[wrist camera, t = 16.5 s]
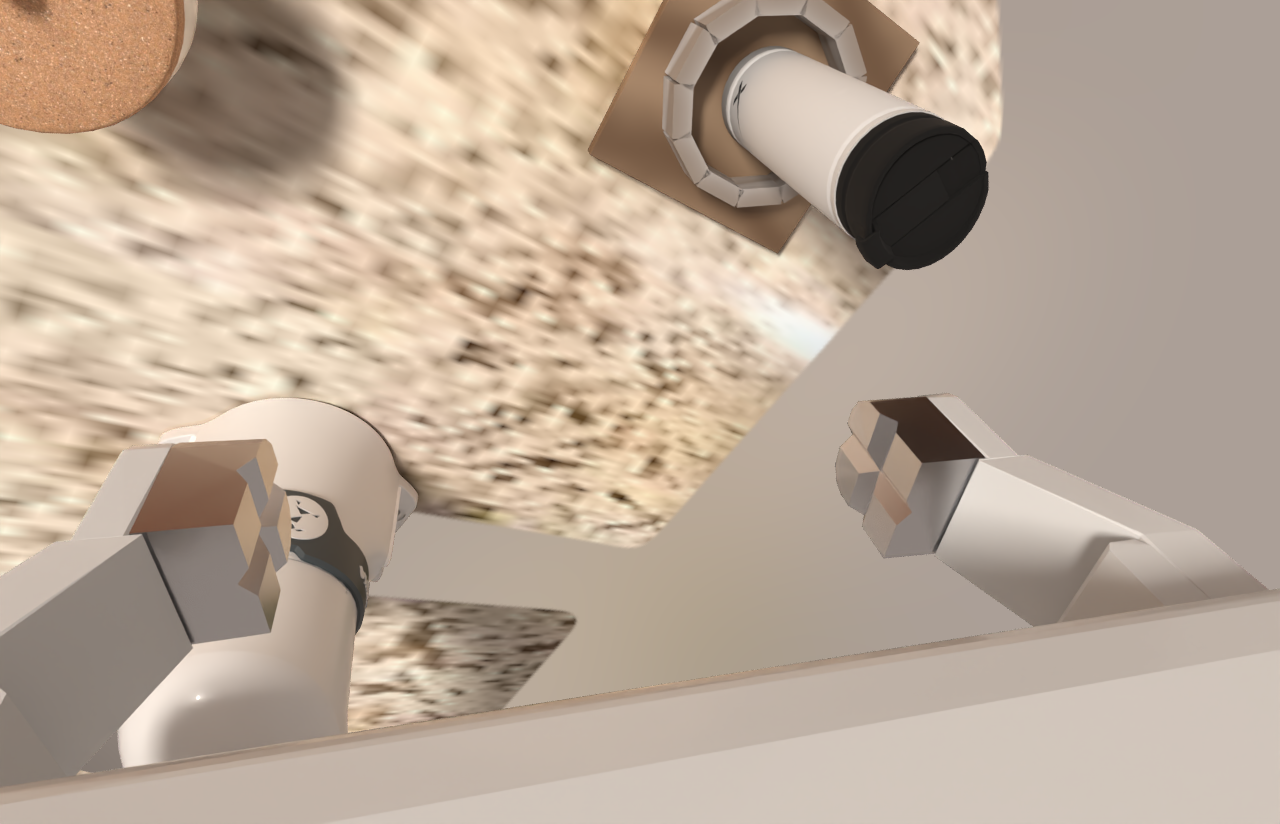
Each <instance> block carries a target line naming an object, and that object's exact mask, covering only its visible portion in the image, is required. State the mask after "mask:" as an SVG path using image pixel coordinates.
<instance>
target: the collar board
mask: <svg viewBox="0 0 1280 824" xmlns="http://www.w3.org/2000/svg"><path fill="white" fill-rule="evenodd" d="M918 45H919V42H918V41H917V40H916V39H914V38H913V37H912V36H911V35H910V34H908V33H907V32H906V31H905V30H903V29H902V28H901V27H900V26H898V25H897V24H896V23H895V22H893V21H892V20H891V19H890V18H888V17H887V16H886V15H885V14H883V13H882V12H881V11H880V10H879V9H877V8H876V7H875V6H874V5H872V4H871V3H870V2H869V1H867V0H663V2H662V4H661V6H660V8H659V10H658V12H657V14H656V16H655V18H654V20H653V22H652V24H651V26H650V28H649V30H648V32H647V34H646V36H645V38H644V40H643V42H642V44H641V46H640V47H639V49H638V51H637V53H636V55H635V57H634V59H633V61H632V63H631V65H630V67H629V69H628V71H627V73H626V75H625V77H624V79H623V81H622V83H621V85H620V87H619V89H618V91H617V93H616V95H615V97H614V99H613V101H612V103H611V105H610V107H609V109H608V111H607V113H606V115H605V117H604V119H603V121H602V123H601V125H600V127H599V129H598V131H597V133H596V135H595V137H594V139H593V141H592V143H591V145H590V146H589V148H588V152H589V153H590V155H592V156H594V157H596V158H597V159H599V160H601V161H603V162H605V163H607V164H609V165H611V166H613V167H615V168H616V169H618V170H620V171H622V172H624V173H626V174H628V175H630V176H632V177H634V178H635V179H637V180H639V181H641V182H643V183H645V184H647V185H649V186H651V187H652V188H654V189H656V190H658V191H660V192H662V193H664V194H666V195H668V196H670V197H671V198H673V199H675V200H677V201H679V202H681V203H683V204H685V205H687V206H689V207H690V208H692V209H694V210H696V211H698V212H700V213H702V214H704V215H706V216H707V217H709V218H711V219H713V220H715V221H717V222H719V223H721V224H723V225H725V226H726V227H728V228H730V229H732V230H734V231H736V232H738V233H740V234H742V235H744V236H745V237H747V238H749V239H751V240H753V241H755V242H757V243H759V244H761V245H762V246H764V247H766V248H768V249H770V250H772V251H774V252H776V253H778V252H779V251H780V249H781V248H782V247H783V245H784V244H785V242H786V241H787V239H788V238H789V236H790V235H791V233H792V232H793V230H794V229H795V227H796V226H797V224H798V223H799V221H800V220H801V218H802V217H803V215H804V214H805V212H806V211H807V209H808V208H809V206H810V205H811V203H810V202H808V201H807V200H806V199H805V198H804V197H802V196H801V195H800V194H799V193H798V192H796V191H795V190H794V189H793V188H792V187H790V186H789V185H788V184H787V183H786V182H784V181H783V180H782V179H781V178H780V177H779V176H777V175H776V174H775V173H774V172H773V171H771V170H770V169H769V168H768V167H767V166H765V165H764V164H763V163H762V162H761V161H759V160H758V159H757V158H756V157H755V156H753V155H752V154H751V153H750V152H749V151H748V150H746V149H745V148H744V147H743V146H742V145H740V144H739V143H738V142H737V141H736V140H734V138H733V137H732V136H731V135H730V134H729V132H728V130H727V128H726V126H725V124H724V120H723V117H722V107H721V104H722V95H723V91H724V87H725V84H726V82H727V80H728V78H729V76H730V74H731V72H732V71H733V70H734V68H735V67H736V65H737V64H738V63H739V62H740V61H741V60H742V59H743V58H745V57H746V56H747V55H749V54H750V53H752V52H754V51H756V50H758V49H760V48H764V47H768V46H781V47H785V48H789V49H791V50H793V51H796V52H797V53H800V54H802V55H805V56H807V57H809V58H811V59H813V60H816V61H818V62H820V63H822V64H825V65H827V66H829V67H831V68H834V69H836V70H838V71H840V72H842V73H845V74H847V75H849V76H851V77H854V78H856V79H858V80H860V81H863V82H865V83H867V84H869V85H871V86H874V87H876V88H878V89H880V90H883V91H885V92H887V91H888V89H889V88H890V86H891V85H892V83H893V82H894V80H895V79H896V77H897V76H898V74H899V73H900V71H901V70H902V68H903V67H904V65H905V64H906V62H907V61H908V59H909V58H910V56H911V55H912V53H913V52H914V50H915V49H916V48H917V46H918Z"/></svg>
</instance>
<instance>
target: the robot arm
mask: <svg viewBox="0 0 1280 824" xmlns="http://www.w3.org/2000/svg"><path fill="white" fill-rule="evenodd" d="M847 424H848V426H849V428H850V430H851V432H852V435H851V436H850V437H849V438H848V439H847V440H846V441H845V443H843V444H842V445H841V446H840V448H839V452H838V456H837V460H836V463H835V467H836V481H837V484H838V487H839V490H840V493H841V495H842V497H843V498H844V499H845V501H846V503H847V504H848V506H850V507H852V508H853V509H855V510H857V511H859V512H860V513H862V514H864V519H863V524H862V527H863V528H864V530H865V531H866V533H867V534H868V536H869V537H870V539H871V540H872V542H873V543H874V545H875V546H876V548H877V549H878V551H879V552H880V554H881V555H882V557H883V558H891V557H902V556H912V555H923V554H934V553H935V557H937V558H938V559H939V560H941V561H942V562H943V563H945V564H946V565H948V566H949V567H950V568H952V569H953V570H955V571H956V572H957V573H959V574H960V575H962V576H963V577H965V578H966V579H967V580H969V581H970V582H971V583H973V584H974V585H976V586H977V587H979V588H980V589H981V590H983V591H984V592H986V593H987V594H988V595H990V596H991V597H993V598H994V599H995V600H997V601H998V602H1000V603H1001V604H1002V605H1004V606H1005V607H1007V608H1008V609H1009V610H1011V611H1012V612H1014V613H1015V614H1017V615H1018V616H1019V617H1021V618H1022V619H1024V620H1025V621H1026V622H1028V623H1029V624H1030V625H1032V626H1033V627H1028V628H1022V629H1015V630H1010V631H1002V632H997V633H989V634H983V635H977V636H971V637H964V638H957V639H951V640H945V641H939V642H931V643H925V644H918V645H913V646H906V647H900V648H893V649H886V650H880V651H873V652H867V653H861V654H854V655H848V656H841V657H835V658H828V659H822V660H815V661H809V662H802V663H797V664H790V665H783V666H777V667H771V668H764V669H757V670H751V671H745V672H738V673H731V674H725V675H719V676H713V677H706V678H699V679H694V680H687V681H680V682H674V683H667V684H661V685H655V686H648V687H642V688H635V689H628V690H622V691H616V692H609V693H603V694H596V695H590V696H583V697H577V698H571V699H565V700H558V701H551V702H545V703H538V704H532V705H525V706H519V707H512V708H506V709H500V710H493V711H487V712H480V713H474V714H467V715H461V716H455V717H448V718H442V719H435V720H429V721H422V722H416V723H409V724H403V725H397V726H390V727H384V728H377V729H371V730H364V731H358V732H352V733H348V704H349V693H350V682H351V671H352V661H353V650H354V640H355V635H356V633H357V632H358V630H359V629H360V627H361V624H362V621H363V617H364V612H365V608H366V607H367V602H368V595H369V586H370V582H371V581H373V582H377V581H378V580H379V579H380V577H381V575H382V572H383V567H385V566H388V564H389V562H390V560H391V556H392V549H393V543H394V535H395V532H396V531H397V530H398V529H399V528H400V527H401V525H402V524H403V523H404V522H405V521H406V519H407V518H408V517H409V516H410V515H411V514H412V512H413V511H414V510H415V508H416V506H417V501H418V494H417V492H416V491H415V489H414V488H413V487H412V486H411V485H410V484H409V483H408V482H407V481H406V480H405V479H404V478H403V477H402V476H401V475H400V474H399V472H398V471H397V468H396V466H395V463H394V460H393V457H392V455H391V452H390V450H389V448H388V446H387V445H386V443H385V442H384V440H383V439H382V438H381V437H380V435H379V434H378V433H377V432H376V431H375V430H374V429H373V428H372V427H370V426H369V425H368V424H367V423H365V422H364V421H363V420H361V419H360V418H358V417H356V416H355V415H353V414H351V413H349V412H347V411H345V410H343V409H340V408H338V407H335V406H332V405H329V404H326V403H322V402H318V401H313V400H307V399H299V398H272V399H264V400H258V401H254V402H250V403H246V404H243V405H240V406H238V407H235V408H233V409H231V410H229V411H227V412H225V413H223V414H222V415H220V416H218V417H216V418H215V419H213V420H211V421H209V422H207V423H204V424H201V425H194V426H187V427H181V428H177V429H173V430H169V431H167V432H165V433H163V434H162V435H161V436H160V438H159V441H158V444H150V445H134V446H131V447H129V448H127V449H125V450H123V451H122V452H121V453H120V455H119V457H118V459H117V460H116V462H115V464H114V465H113V467H112V469H111V471H110V472H109V474H108V476H107V478H106V479H105V481H104V483H103V484H102V486H101V488H100V490H99V491H98V493H97V495H96V497H95V498H94V500H93V502H92V503H91V505H90V507H89V509H88V510H87V512H86V514H85V516H84V517H83V519H82V521H81V522H80V524H79V526H78V528H77V529H76V531H75V533H74V535H73V536H72V538H71V540H70V541H60V542H54V543H52V544H51V545H49V546H48V547H46V548H44V549H43V550H41V551H40V552H38V553H37V554H35V555H33V556H32V557H30V558H29V559H27V560H26V561H24V562H22V563H21V564H19V565H18V566H16V567H15V568H13V569H11V570H10V571H8V572H7V573H5V574H3V575H2V576H0V824H1280V589H1273V590H1269V589H1267V588H1266V587H1265V586H1264V585H1263V584H1261V583H1260V582H1259V581H1258V580H1257V579H1255V578H1254V577H1253V576H1252V575H1251V574H1250V573H1248V572H1247V571H1246V570H1245V569H1244V568H1242V567H1241V566H1240V565H1239V564H1238V563H1236V562H1235V561H1234V560H1233V559H1232V558H1231V557H1230V556H1228V555H1227V554H1226V553H1225V552H1224V551H1222V550H1221V549H1220V548H1219V547H1218V546H1216V545H1215V544H1214V543H1213V542H1212V541H1211V540H1209V539H1208V538H1207V537H1206V536H1205V535H1203V534H1202V533H1201V532H1200V531H1199V530H1197V529H1195V528H1193V527H1190V526H1188V525H1186V524H1184V523H1181V522H1179V521H1177V520H1174V519H1172V518H1170V517H1168V516H1165V515H1163V514H1161V513H1159V512H1156V511H1154V510H1152V509H1150V508H1147V507H1145V506H1143V505H1140V504H1138V503H1136V502H1133V501H1131V500H1129V499H1127V498H1124V497H1122V496H1120V495H1118V494H1115V493H1113V492H1111V491H1109V490H1106V489H1104V488H1102V487H1099V486H1097V485H1095V484H1093V483H1090V482H1088V481H1085V480H1083V479H1081V478H1079V477H1077V476H1074V475H1072V474H1070V473H1068V472H1065V471H1063V470H1061V469H1058V468H1056V467H1054V466H1052V465H1049V464H1047V463H1045V462H1042V461H1040V460H1038V459H1035V458H1033V457H1031V456H1028V455H1023V456H1019V455H1018V454H1016V453H1015V452H1014V450H1012V449H1011V448H1010V447H1009V446H1008V445H1007V444H1006V443H1005V442H1004V441H1003V440H1002V439H1001V438H1000V437H999V436H998V435H997V434H996V433H995V432H994V431H993V430H992V429H991V428H989V426H988V425H987V424H985V423H984V422H983V421H982V420H981V419H980V418H979V417H978V416H977V415H976V414H975V413H974V412H973V411H972V410H971V409H970V408H969V407H968V406H967V405H966V404H965V403H964V402H963V401H962V400H961V399H960V398H959V397H957V396H954V395H951V394H949V393H944V394H933V395H923V396H918V397H911V398H896V399H884V400H883V399H882V400H868V401H858V402H857V404H856V405H855V406H854V408H853V409H852V411H851V414H850V417H849V420H848V423H847ZM117 730H118V746H119V752H120V758H121V762H122V765H123V768H120V769H113V770H107V771H100V772H94V773H90V772H85V771H81V768H83V766H84V765H85V764H86V763H87V762H88V761H89V760H90V759H91V758H92V757H93V756H94V754H96V752H97V751H98V750H99V749H100V748H101V747H102V746H103V745H104V744H105V743H106V742H107V741H108V739H109V738H110V737H111V736H112V735H113V734H114V733H115V732H116V731H117Z"/></svg>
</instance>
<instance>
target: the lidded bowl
mask: <svg viewBox="0 0 1280 824" xmlns="http://www.w3.org/2000/svg"><path fill="white" fill-rule="evenodd" d="M197 13H198V0H0V124H3V125H6V126H10V127H13V128H17V129H23V130H29V131H35V132H41V133H63V134H70V133H79V132H88V131H94V130H98V129H101V128H105V127H108V126H112V125H115V124H117V123H119V122H121V121H123V120H125V119H127V118H129V117H131V116H133V115H134V114H136V113H137V112H138V111H140V110H141V109H142V108H143V107H145V106H146V105H147V104H149V103H150V102H151V101H152V100H154V99H155V97H156V96H157V95H158V94H159V93H160V91H161V90H162V89H163V88H164V86H165V85H166V84H167V83H168V82H169V81H170V80H171V78H172V77H173V76H174V75H175V74H176V72H177V71H178V70H179V68H180V66H181V65H182V63H183V61H184V59H185V57H186V55H187V53H188V51H189V49H190V47H191V44H192V41H193V37H194V34H195V30H196V24H197Z"/></svg>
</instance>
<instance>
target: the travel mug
mask: <svg viewBox="0 0 1280 824" xmlns="http://www.w3.org/2000/svg"><path fill="white" fill-rule="evenodd" d="M721 107H722V117H723V120H724V124H725V126H726V128H727V130H728V132H729V134H730V135H731V136H732V137H733V138H734V140H736V141H737V142H738V143H739V144H740V145H742V146H743V147H744V148H745V149H746V150H748V151H749V152H750V153H751V154H752V155H753V156H755V157H756V158H757V159H758V160H759V161H761V162H762V163H763V164H764V165H765V166H767V167H768V168H769V169H770V170H771V171H773V172H774V173H775V174H776V175H777V176H779V177H780V178H781V179H782V180H783V181H784V182H786V183H787V184H788V185H789V186H790V187H792V188H793V189H794V190H795V191H796V192H798V193H799V194H800V195H801V196H802V197H804V198H805V199H806V200H807V201H808V202H810V203H811V204H812V205H813V206H814V207H815V208H817V209H818V210H819V211H820V212H821V213H823V214H824V215H825V216H826V217H827V218H829V219H830V220H831V221H832V222H833V223H835V224H836V225H837V226H838V227H839V228H841V229H842V230H843V231H844V232H845V233H846V234H848V235H849V236H850V237H852V238H853V239H854V240H856V245H857V247H858V249H859V251H860V253H861V254H862V256H863V257H864V259H865V260H866V261H867V262H868V263H870V264H871V265H872V266H874V267H875V268H877V269H879V268H881V267H883V266H884V265H885V264H887V265H888V266H891V267H893V268H896V269H903V270H912V269H919V268H922V267H925V266H929V265H931V264H933V263H935V262H937V261H938V260H940V259H942V258H944V257H945V256H946V255H948V254H949V253H950V252H952V251H953V250H954V249H955V248H956V247H957V246H958V245H959V244H960V243H961V242H962V241H963V240H964V238H965V237H966V236H967V235H968V233H969V232H970V231H971V230H972V228H973V226H974V225H975V223H976V221H977V219H978V218H979V216H980V213H981V211H982V209H983V207H984V204H985V200H986V197H987V193H988V172H987V171H985V170H986V163H987V162H986V158H985V154H984V151H983V149H982V147H981V145H980V143H979V141H978V140H976V139H975V138H974V137H973V136H972V135H970V134H969V133H968V132H967V131H966V130H965V129H964V128H961V127H959V126H957V125H955V124H953V123H950V122H948V121H946V120H944V119H943V118H941V117H939V116H937V115H936V114H934V113H932V112H930V111H926V110H925V109H923V108H921V107H918V106H916V105H914V104H912V103H909V102H907V101H905V100H903V99H900V98H898V97H896V96H894V95H892V94H889V93H887V92H885V91H883V90H880V89H878V88H876V87H874V86H871V85H869V84H867V83H865V82H863V81H860V80H858V79H856V78H854V77H851V76H849V75H847V74H845V73H842V72H840V71H838V70H836V69H834V68H831V67H829V66H827V65H825V64H822V63H820V62H818V61H816V60H813V59H811V58H809V57H807V56H805V55H802V54H800V53H797V52H796V51H793V50H791V49H789V48H785V47H781V46H768V47H764V48H760V49H758V50H756V51H754V52H752V53H750V54H749V55H747V56H746V57H745V58H743V59H742V60H741V61H740V62H739V63H738V64H737V65H736V67H735V68H734V70H733V71H732V72H731V74H730V76H729V78H728V80H727V82H726V84H725V87H724V91H723V95H722V104H721Z"/></svg>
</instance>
